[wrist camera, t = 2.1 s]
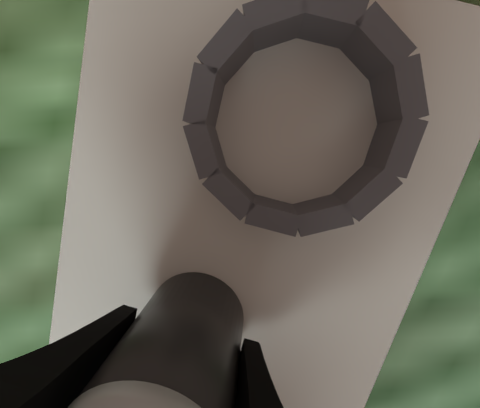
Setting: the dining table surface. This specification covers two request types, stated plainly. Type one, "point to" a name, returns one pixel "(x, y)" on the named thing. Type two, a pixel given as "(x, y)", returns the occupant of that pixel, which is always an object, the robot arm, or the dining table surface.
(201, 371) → the lens
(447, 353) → the dining table surface
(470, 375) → the dining table surface
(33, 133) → the dining table surface
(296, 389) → the mount board
